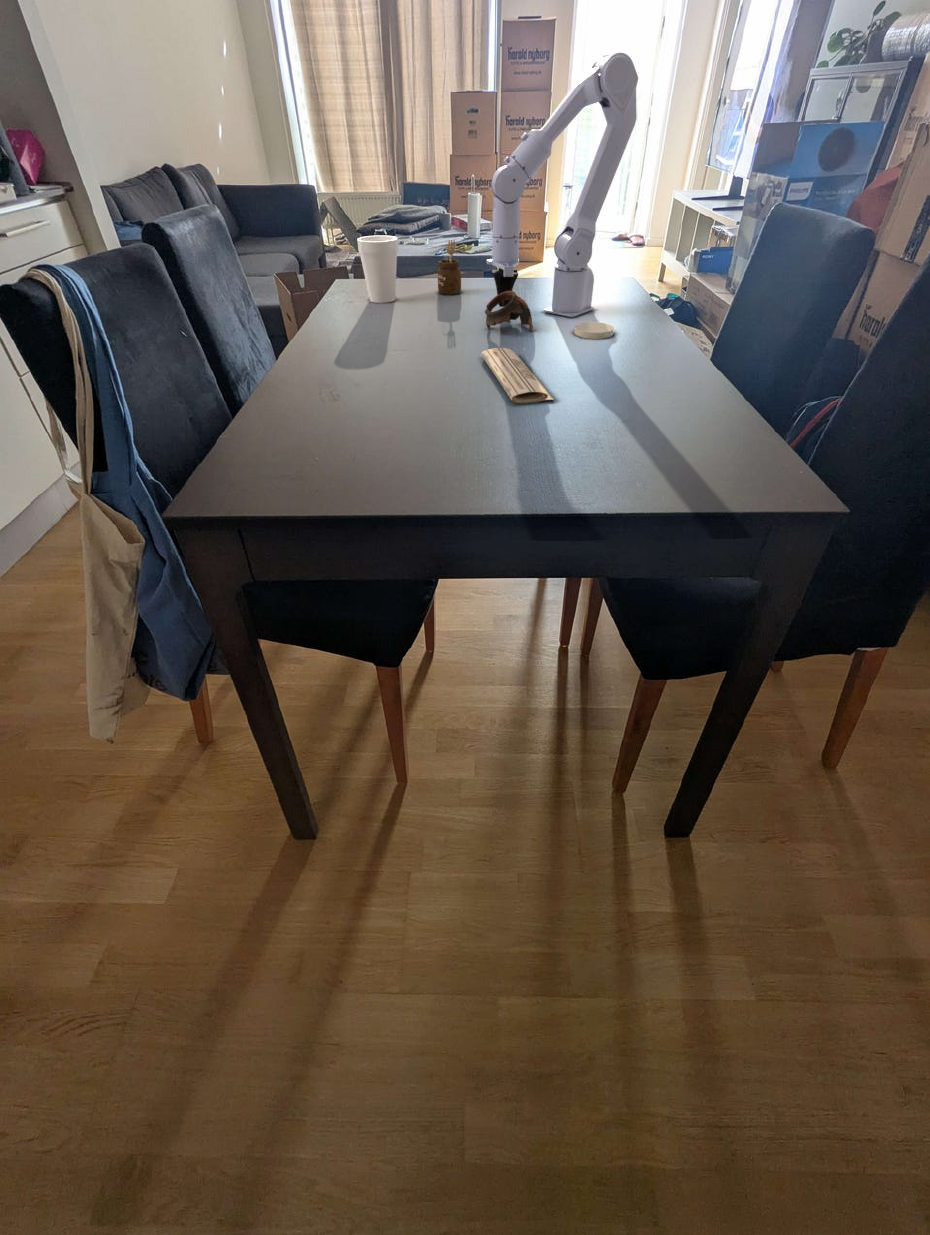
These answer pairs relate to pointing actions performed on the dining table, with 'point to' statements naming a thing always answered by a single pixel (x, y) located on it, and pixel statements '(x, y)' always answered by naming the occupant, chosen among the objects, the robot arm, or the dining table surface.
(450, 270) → the utensil holder
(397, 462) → the dining table surface
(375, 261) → the foam cup
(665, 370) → the dining table surface
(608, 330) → the tan round disc
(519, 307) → the brown curved piece
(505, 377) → the newspaper
